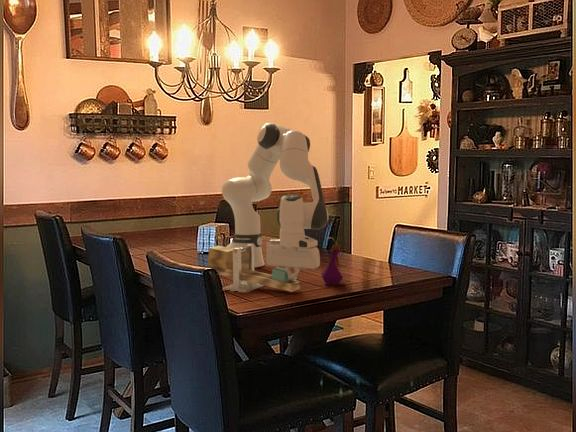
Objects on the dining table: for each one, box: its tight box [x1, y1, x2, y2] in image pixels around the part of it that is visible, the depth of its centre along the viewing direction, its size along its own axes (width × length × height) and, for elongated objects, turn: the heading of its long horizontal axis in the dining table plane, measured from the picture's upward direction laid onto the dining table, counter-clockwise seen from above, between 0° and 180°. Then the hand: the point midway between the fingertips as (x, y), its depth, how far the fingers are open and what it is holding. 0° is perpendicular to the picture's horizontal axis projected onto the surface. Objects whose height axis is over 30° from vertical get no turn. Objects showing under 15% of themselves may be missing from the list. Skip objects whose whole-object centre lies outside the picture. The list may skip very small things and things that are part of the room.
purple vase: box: [320, 236, 343, 287], centre depth 248 cm, size 8×8×18 cm
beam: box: [207, 245, 301, 293], centre depth 242 cm, size 36×6×10 cm, turn 62°
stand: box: [222, 245, 266, 294], centre depth 244 cm, size 10×14×15 cm
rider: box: [271, 266, 289, 283], centre depth 237 cm, size 5×4×5 cm
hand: (292, 279), depth 235 cm, fingers closed
